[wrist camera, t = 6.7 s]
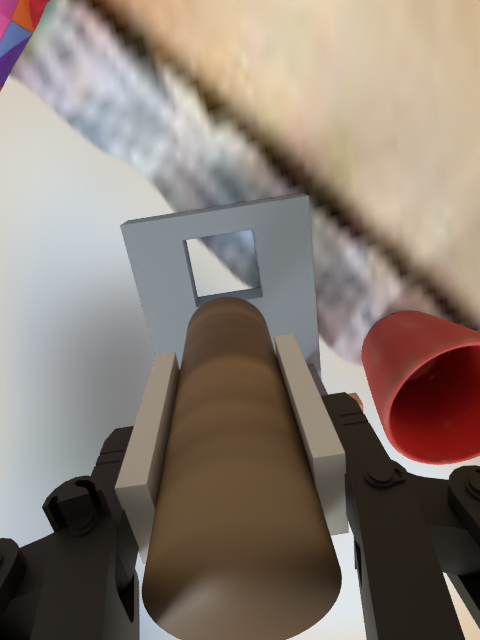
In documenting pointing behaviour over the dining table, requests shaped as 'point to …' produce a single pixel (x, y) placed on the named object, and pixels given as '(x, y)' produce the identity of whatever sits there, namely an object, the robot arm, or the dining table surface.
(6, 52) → the pencil case
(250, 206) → the socket board
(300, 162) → the dining table surface
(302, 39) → the dining table surface
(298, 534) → the dowel
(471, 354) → the flower pot
